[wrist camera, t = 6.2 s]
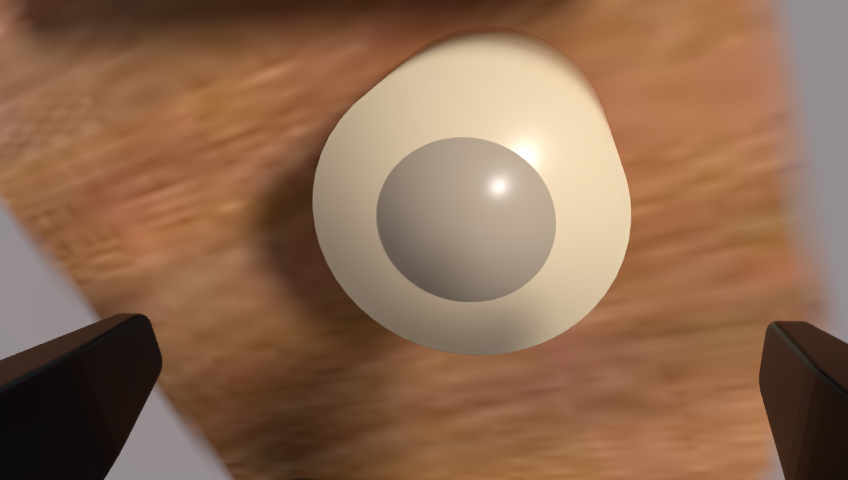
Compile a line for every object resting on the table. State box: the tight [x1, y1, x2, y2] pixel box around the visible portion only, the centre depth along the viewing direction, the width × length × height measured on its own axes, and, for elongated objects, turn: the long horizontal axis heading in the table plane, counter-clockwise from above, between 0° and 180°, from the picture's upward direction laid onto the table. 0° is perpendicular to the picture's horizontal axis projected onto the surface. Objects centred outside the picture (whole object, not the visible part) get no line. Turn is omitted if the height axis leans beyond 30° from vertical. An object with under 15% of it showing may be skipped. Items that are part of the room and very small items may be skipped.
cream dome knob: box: [313, 27, 631, 355], centre depth 15 cm, size 6×6×5 cm
